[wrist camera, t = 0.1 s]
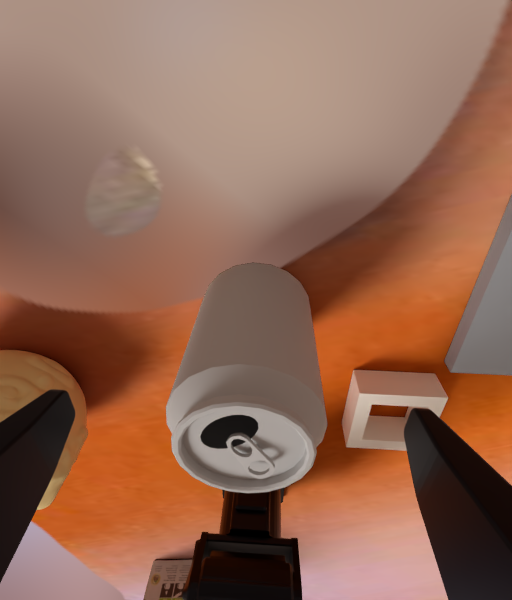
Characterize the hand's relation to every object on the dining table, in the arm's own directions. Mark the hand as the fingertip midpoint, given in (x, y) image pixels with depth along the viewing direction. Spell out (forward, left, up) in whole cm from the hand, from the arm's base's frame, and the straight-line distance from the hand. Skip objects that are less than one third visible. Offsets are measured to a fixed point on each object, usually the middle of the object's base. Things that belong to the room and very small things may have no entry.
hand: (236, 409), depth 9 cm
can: (-6, 0, -15) cm, 16 cm away
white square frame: (-15, -11, -15) cm, 24 cm away
